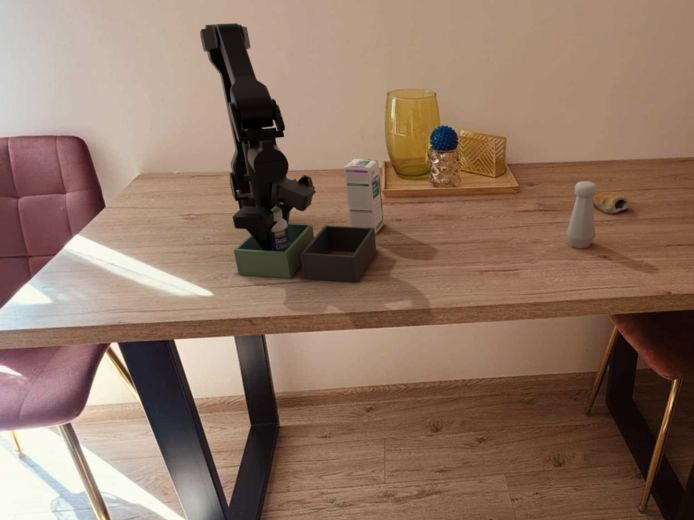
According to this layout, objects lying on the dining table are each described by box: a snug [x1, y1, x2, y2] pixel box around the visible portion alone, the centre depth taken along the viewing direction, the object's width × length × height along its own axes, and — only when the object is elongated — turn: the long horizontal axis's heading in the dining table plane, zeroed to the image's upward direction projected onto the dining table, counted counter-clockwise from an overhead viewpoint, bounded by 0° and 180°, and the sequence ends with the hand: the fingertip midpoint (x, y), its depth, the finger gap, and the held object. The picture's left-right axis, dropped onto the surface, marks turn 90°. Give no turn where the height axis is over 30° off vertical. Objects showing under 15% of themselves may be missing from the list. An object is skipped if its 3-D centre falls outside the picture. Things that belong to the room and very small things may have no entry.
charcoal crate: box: [300, 224, 377, 283], centre depth 123 cm, size 10×14×5 cm
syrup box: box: [343, 158, 385, 235], centre depth 136 cm, size 6×6×14 cm
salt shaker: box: [566, 180, 598, 249], centre depth 129 cm, size 6×6×13 cm
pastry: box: [593, 191, 630, 215], centre depth 151 cm, size 9×7×4 cm
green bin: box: [233, 222, 315, 279], centre depth 125 cm, size 10×14×5 cm
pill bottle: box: [262, 207, 290, 252], centre depth 123 cm, size 5×5×10 cm
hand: (276, 246), depth 124 cm, fingers open, 7 cm apart
